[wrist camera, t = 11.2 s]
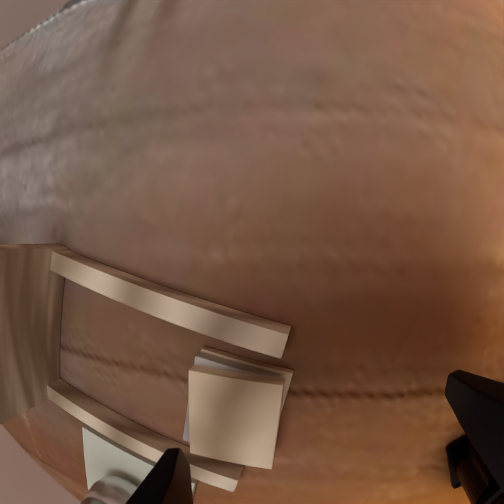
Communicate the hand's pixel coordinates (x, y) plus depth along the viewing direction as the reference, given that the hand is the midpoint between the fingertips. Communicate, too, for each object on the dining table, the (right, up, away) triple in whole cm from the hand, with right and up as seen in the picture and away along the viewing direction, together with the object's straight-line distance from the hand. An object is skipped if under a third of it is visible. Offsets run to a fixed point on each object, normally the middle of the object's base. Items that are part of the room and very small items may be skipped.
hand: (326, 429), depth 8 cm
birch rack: (-11, -4, +14) cm, 19 cm away
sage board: (-14, -19, +15) cm, 28 cm away
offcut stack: (-3, -6, +13) cm, 15 cm away
